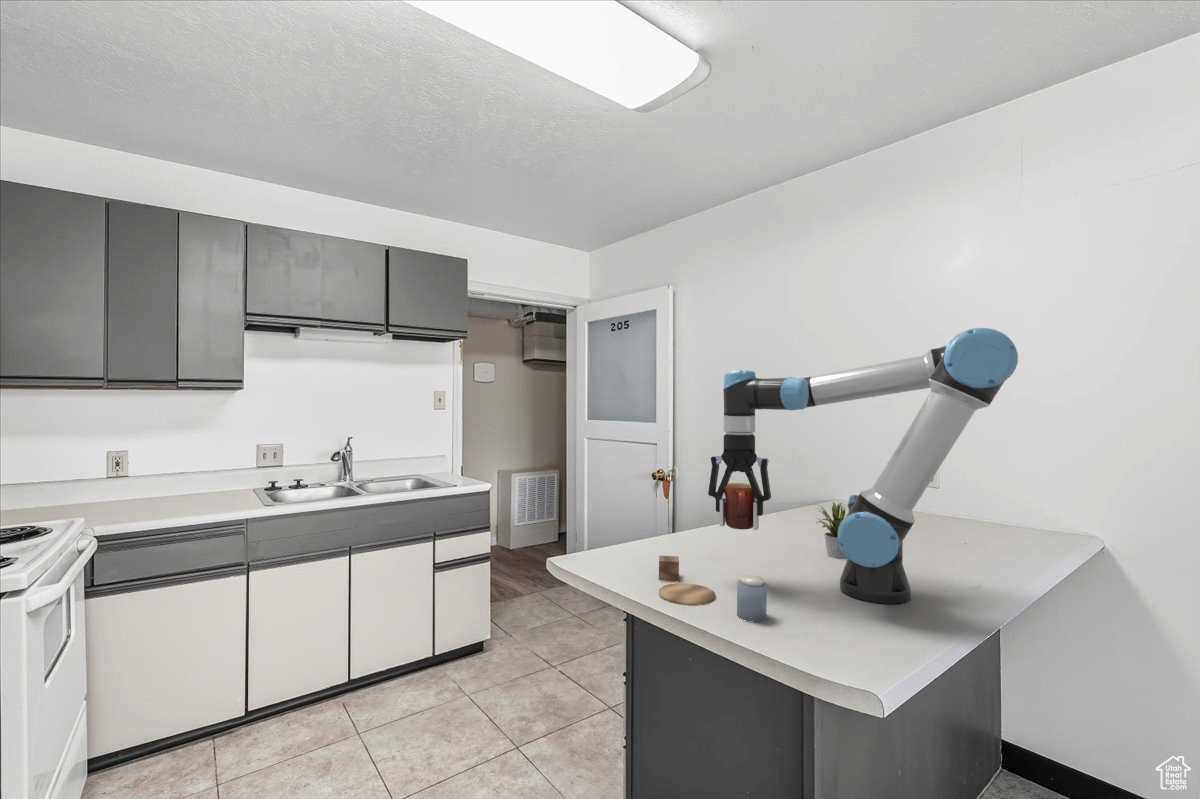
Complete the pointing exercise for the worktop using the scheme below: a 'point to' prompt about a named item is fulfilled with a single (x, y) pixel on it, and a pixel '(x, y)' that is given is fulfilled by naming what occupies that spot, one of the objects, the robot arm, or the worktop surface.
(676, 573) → the block
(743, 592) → the jar
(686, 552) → the worktop surface
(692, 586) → the trivet
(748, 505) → the mug
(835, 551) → the house plant
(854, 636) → the worktop surface
